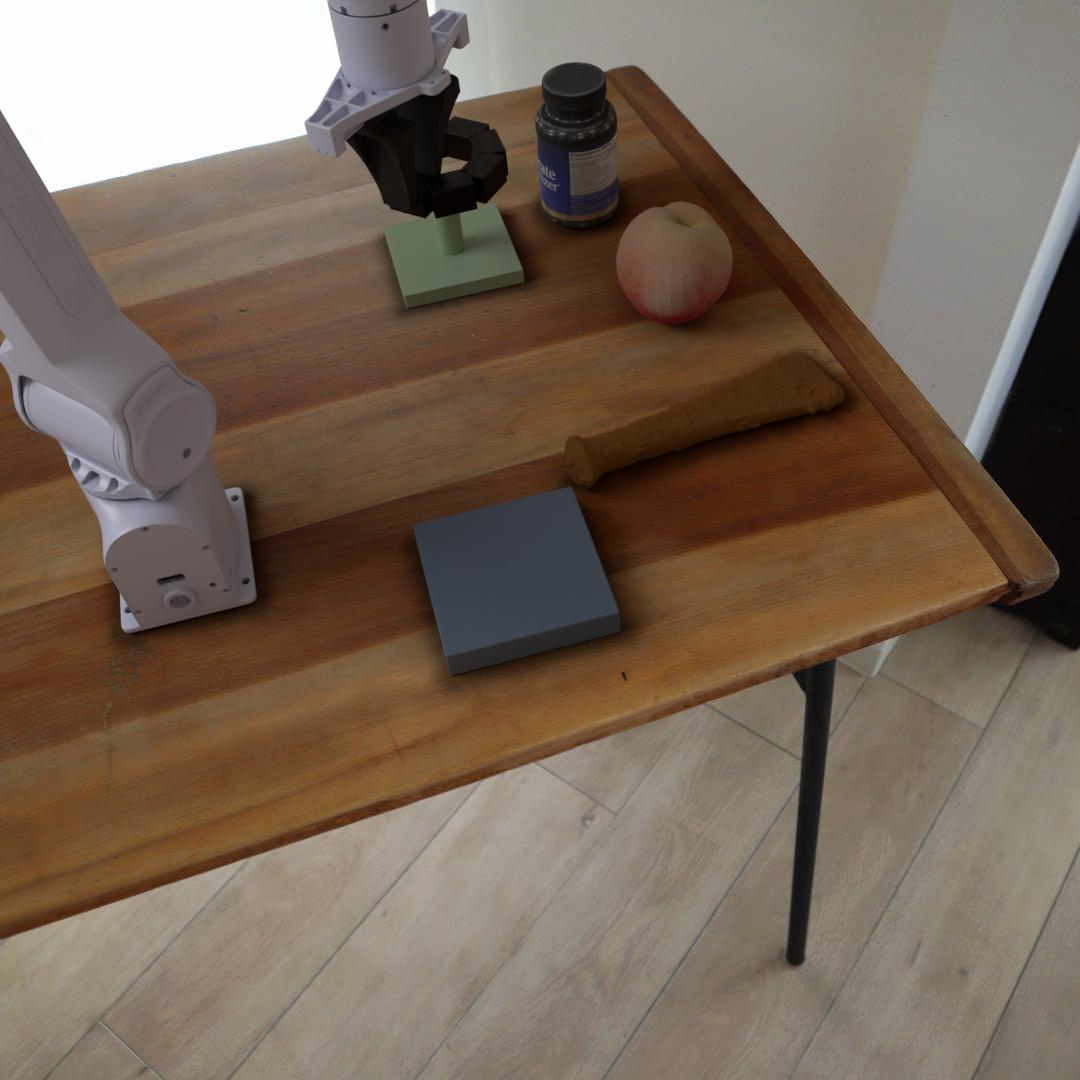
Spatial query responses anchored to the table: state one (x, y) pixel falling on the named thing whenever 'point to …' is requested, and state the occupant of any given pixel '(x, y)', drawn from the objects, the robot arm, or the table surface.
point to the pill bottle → (577, 146)
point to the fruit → (674, 262)
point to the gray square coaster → (515, 580)
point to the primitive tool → (707, 417)
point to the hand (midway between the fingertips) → (412, 194)
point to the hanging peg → (453, 255)
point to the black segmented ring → (463, 171)
